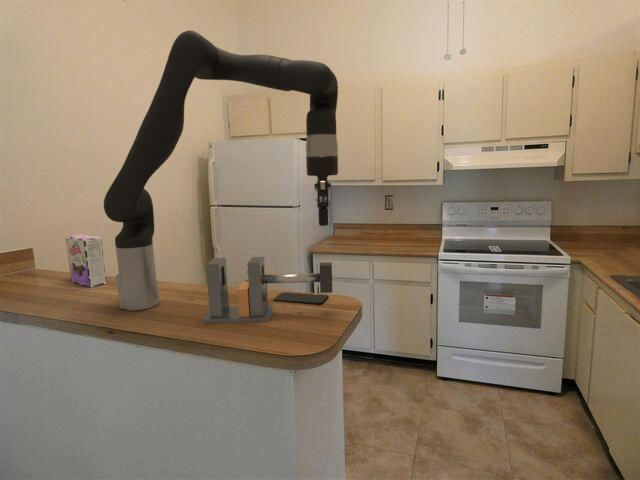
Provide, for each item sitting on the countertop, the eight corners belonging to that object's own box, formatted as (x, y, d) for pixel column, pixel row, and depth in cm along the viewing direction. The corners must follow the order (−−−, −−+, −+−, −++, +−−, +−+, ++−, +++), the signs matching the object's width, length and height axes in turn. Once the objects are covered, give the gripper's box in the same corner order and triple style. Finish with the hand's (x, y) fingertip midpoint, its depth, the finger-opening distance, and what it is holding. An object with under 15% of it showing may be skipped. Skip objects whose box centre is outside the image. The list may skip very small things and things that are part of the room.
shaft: (260, 294, 95) (258, 267, 94) (262, 290, 98) (260, 264, 97) (332, 292, 95) (331, 265, 94) (332, 288, 98) (331, 262, 97)
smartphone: (282, 292, 115) (329, 294, 111) (282, 295, 116) (330, 298, 111) (271, 299, 109) (321, 303, 104) (271, 303, 109) (321, 306, 104)
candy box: (70, 282, 135) (64, 236, 132) (88, 278, 139) (82, 233, 137) (89, 288, 127) (83, 239, 124) (107, 283, 132) (101, 236, 129)
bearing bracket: (203, 323, 94) (198, 265, 91) (213, 310, 103) (209, 257, 100) (268, 321, 93) (265, 263, 91) (273, 308, 102) (270, 255, 100)
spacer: (239, 317, 94) (237, 289, 93) (244, 307, 101) (243, 281, 100) (249, 316, 94) (247, 289, 93) (254, 306, 101) (252, 281, 100)
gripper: (307, 156, 98) (309, 220, 101) (304, 154, 84) (307, 227, 87) (336, 156, 98) (337, 219, 101) (339, 153, 84) (340, 226, 87)
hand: (323, 223), depth 94 cm, fingers open, 8 cm apart
